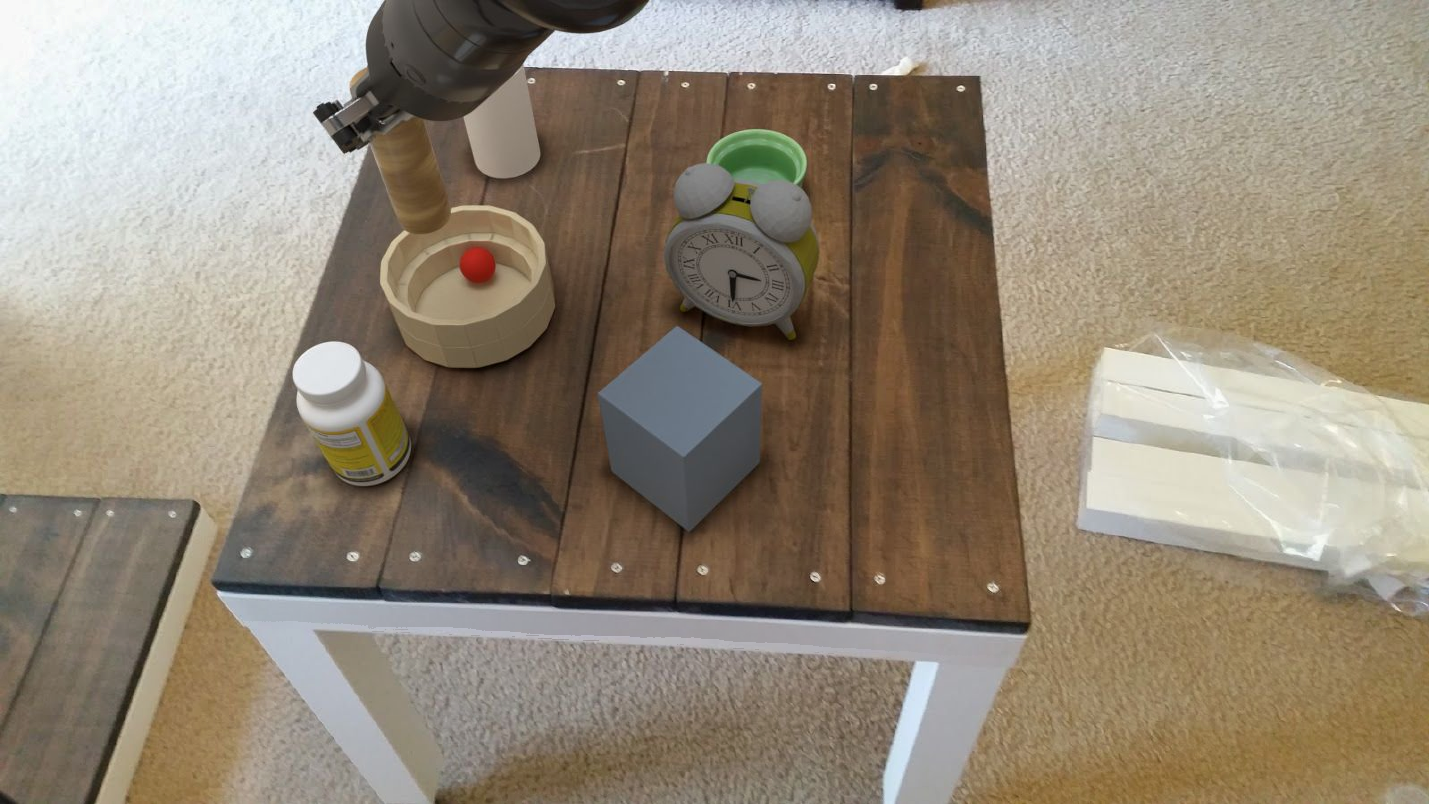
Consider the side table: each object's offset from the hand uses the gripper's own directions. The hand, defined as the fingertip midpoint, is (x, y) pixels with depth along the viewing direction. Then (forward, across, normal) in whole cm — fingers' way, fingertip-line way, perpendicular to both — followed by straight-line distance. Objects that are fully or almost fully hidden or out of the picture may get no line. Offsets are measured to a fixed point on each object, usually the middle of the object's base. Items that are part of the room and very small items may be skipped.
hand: (378, 118), depth 73 cm
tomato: (+13, -4, +13) cm, 19 cm away
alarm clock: (+1, -17, +28) cm, 33 cm away
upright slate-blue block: (-4, -2, +33) cm, 33 cm away
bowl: (+13, -2, +16) cm, 21 cm away
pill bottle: (+10, +13, +20) cm, 25 cm away
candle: (+23, -17, +7) cm, 29 cm away
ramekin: (+7, -28, +22) cm, 37 cm away
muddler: (+4, 0, +7) cm, 8 cm away
